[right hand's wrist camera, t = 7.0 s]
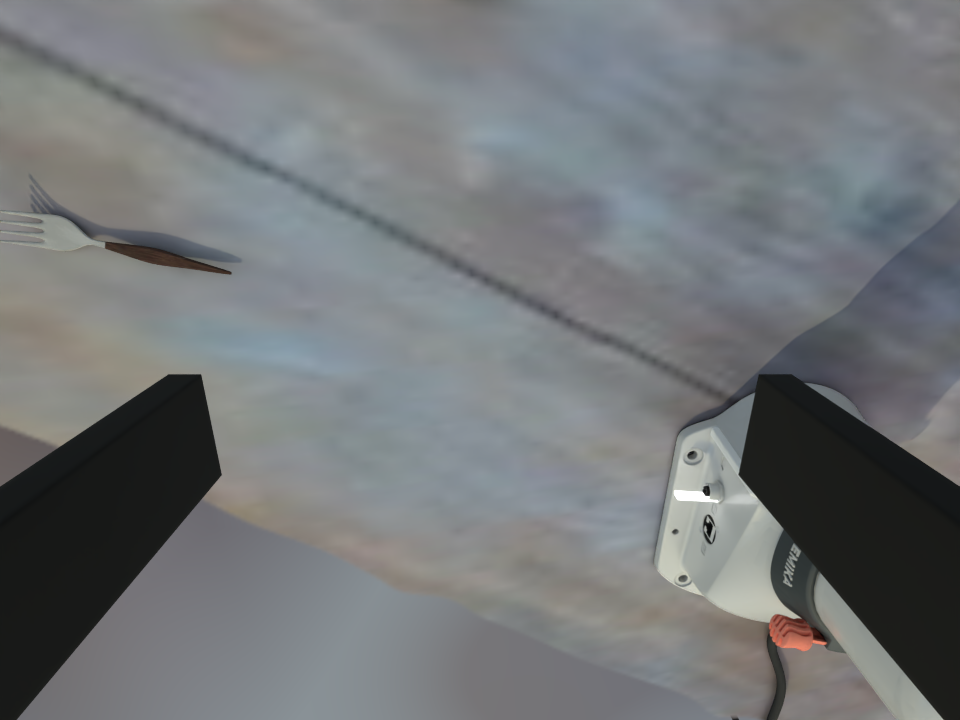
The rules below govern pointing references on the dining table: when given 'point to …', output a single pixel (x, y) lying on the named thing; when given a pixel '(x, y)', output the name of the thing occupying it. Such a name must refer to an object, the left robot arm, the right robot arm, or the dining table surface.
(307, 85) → the dining table surface
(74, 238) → the fork
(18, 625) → the right robot arm
